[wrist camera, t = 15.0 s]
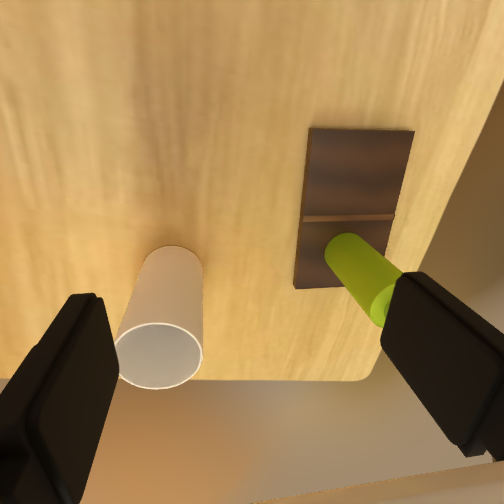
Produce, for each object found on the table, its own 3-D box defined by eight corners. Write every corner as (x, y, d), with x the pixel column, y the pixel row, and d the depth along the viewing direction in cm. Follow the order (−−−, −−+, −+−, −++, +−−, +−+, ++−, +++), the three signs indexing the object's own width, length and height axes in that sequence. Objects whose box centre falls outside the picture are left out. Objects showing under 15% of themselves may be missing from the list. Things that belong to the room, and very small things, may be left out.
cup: (211, 256, 42) (216, 334, 27) (191, 303, 44) (186, 396, 30) (152, 237, 39) (123, 312, 25) (134, 287, 42) (100, 381, 28)
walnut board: (309, 127, 36) (313, 128, 35) (407, 130, 38) (415, 131, 37) (292, 284, 46) (295, 289, 44) (372, 279, 47) (377, 285, 46)
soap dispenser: (339, 220, 40) (447, 310, 23) (371, 246, 43) (491, 345, 25) (310, 253, 42) (390, 361, 24) (343, 276, 45) (437, 389, 27)
